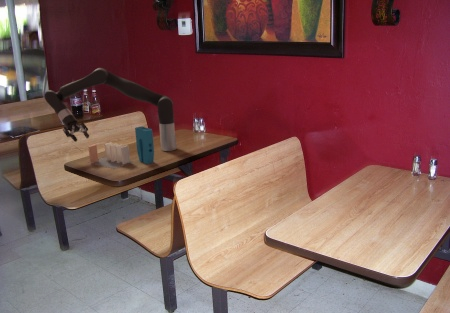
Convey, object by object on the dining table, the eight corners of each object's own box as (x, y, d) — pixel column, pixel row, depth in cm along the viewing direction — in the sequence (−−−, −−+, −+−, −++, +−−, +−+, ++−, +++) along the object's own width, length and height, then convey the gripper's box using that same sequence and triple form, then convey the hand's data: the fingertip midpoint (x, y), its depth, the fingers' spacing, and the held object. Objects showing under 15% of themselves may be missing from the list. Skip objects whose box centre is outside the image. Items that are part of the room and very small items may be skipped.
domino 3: (116, 162, 267) (115, 146, 264) (123, 160, 271) (121, 144, 268) (118, 163, 267) (116, 146, 264) (124, 160, 270) (122, 144, 268)
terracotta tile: (90, 163, 268) (88, 146, 265) (97, 160, 272) (95, 144, 269) (91, 163, 268) (89, 146, 265) (98, 161, 272) (96, 144, 269)
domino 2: (111, 161, 270) (109, 145, 267) (117, 159, 274) (116, 143, 271) (112, 162, 269) (111, 145, 266) (119, 159, 273) (117, 143, 270)
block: (155, 163, 265) (153, 129, 259) (148, 165, 262) (145, 131, 256) (144, 159, 274) (142, 126, 268) (137, 160, 271) (134, 127, 265)
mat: (86, 163, 269) (86, 162, 269) (106, 156, 281) (106, 156, 281) (114, 169, 257) (114, 168, 257) (133, 162, 269) (133, 161, 268)
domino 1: (106, 160, 272) (104, 144, 269) (112, 158, 276) (110, 142, 273) (107, 160, 271) (105, 144, 269) (113, 158, 275) (112, 142, 272)
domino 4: (122, 164, 265) (120, 147, 262) (128, 161, 269) (127, 145, 266) (123, 164, 264) (122, 147, 261) (130, 162, 268) (128, 145, 265)
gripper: (59, 116, 266) (74, 138, 263) (79, 112, 277) (94, 132, 274) (55, 124, 271) (70, 145, 268) (74, 119, 282) (89, 140, 279)
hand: (82, 139), depth 271 cm, fingers open, 8 cm apart
